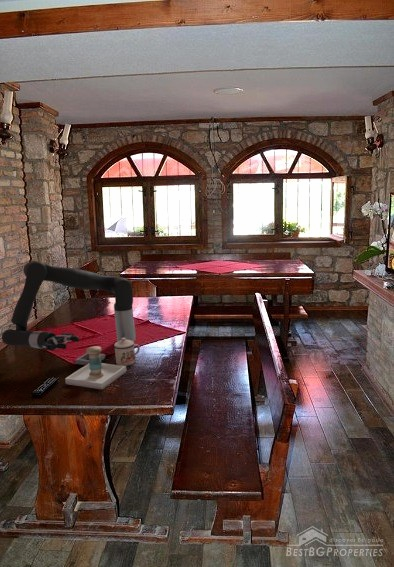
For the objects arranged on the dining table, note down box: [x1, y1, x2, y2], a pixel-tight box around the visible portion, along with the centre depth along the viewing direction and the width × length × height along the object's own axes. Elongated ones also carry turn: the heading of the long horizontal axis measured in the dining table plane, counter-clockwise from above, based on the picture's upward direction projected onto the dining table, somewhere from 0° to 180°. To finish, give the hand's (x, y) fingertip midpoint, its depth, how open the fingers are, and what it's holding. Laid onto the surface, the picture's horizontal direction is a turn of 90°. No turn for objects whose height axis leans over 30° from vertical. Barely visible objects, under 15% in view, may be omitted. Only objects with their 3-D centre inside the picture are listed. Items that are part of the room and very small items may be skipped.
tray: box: [64, 362, 127, 390], centre depth 190 cm, size 18×18×2 cm
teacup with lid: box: [113, 338, 141, 367], centre depth 205 cm, size 12×9×12 cm
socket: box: [74, 352, 106, 366], centre depth 209 cm, size 10×10×2 cm
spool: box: [85, 345, 104, 379], centre depth 189 cm, size 6×6×12 cm
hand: (72, 342), depth 192 cm, fingers open, 8 cm apart
